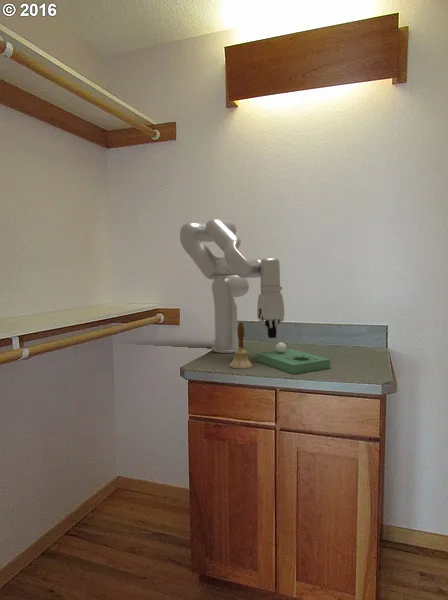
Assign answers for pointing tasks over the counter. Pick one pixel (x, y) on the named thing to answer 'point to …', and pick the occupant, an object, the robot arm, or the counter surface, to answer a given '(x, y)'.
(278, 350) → the ball
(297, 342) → the counter surface
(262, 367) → the counter surface
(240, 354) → the hand bell
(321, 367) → the block
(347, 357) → the counter surface
